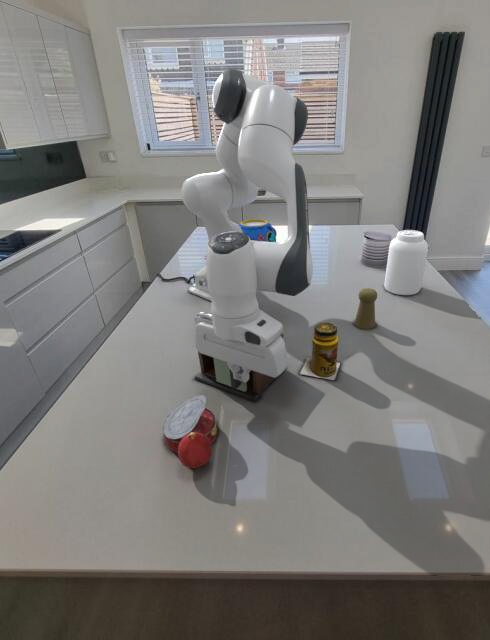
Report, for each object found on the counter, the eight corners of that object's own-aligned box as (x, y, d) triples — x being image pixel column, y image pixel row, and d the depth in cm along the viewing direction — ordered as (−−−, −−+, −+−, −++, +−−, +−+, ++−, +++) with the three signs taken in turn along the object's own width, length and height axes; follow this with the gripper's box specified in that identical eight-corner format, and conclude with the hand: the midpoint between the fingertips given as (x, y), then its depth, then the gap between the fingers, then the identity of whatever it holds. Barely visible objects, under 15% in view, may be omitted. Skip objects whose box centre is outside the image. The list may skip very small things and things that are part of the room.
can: (368, 256, 162) (371, 228, 156) (393, 261, 157) (397, 232, 150) (356, 263, 155) (358, 235, 148) (381, 269, 149) (385, 239, 143)
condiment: (334, 380, 87) (337, 336, 81) (299, 374, 89) (300, 331, 83) (340, 363, 93) (343, 321, 87) (307, 358, 95) (308, 316, 89)
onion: (184, 453, 69) (177, 421, 65) (215, 450, 69) (210, 419, 65) (179, 479, 64) (171, 446, 60) (212, 476, 64) (207, 444, 60)
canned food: (201, 469, 71) (179, 456, 63) (164, 444, 75) (139, 429, 67) (234, 419, 76) (218, 400, 67) (197, 398, 80) (177, 378, 71)
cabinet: (195, 379, 88) (188, 343, 83) (230, 351, 99) (226, 317, 93) (254, 401, 81) (252, 364, 76) (285, 369, 91) (285, 333, 86)
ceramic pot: (275, 264, 156) (274, 227, 148) (233, 264, 156) (230, 228, 148) (277, 250, 171) (276, 217, 163) (238, 251, 171) (236, 217, 163)
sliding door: (211, 386, 84) (206, 353, 79) (218, 379, 86) (214, 347, 82) (239, 397, 81) (236, 364, 76) (247, 390, 83) (244, 357, 78)
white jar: (381, 293, 129) (388, 235, 119) (386, 280, 139) (394, 226, 129) (418, 298, 125) (429, 239, 115) (421, 284, 135) (432, 229, 125)
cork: (375, 329, 107) (379, 295, 102) (353, 328, 108) (357, 293, 103) (375, 320, 112) (379, 286, 107) (355, 318, 114) (358, 284, 108)
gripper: (183, 316, 73) (193, 373, 80) (272, 342, 64) (275, 403, 72) (204, 303, 78) (212, 358, 85) (290, 326, 69) (290, 385, 76)
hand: (241, 379), depth 78 cm, fingers closed
